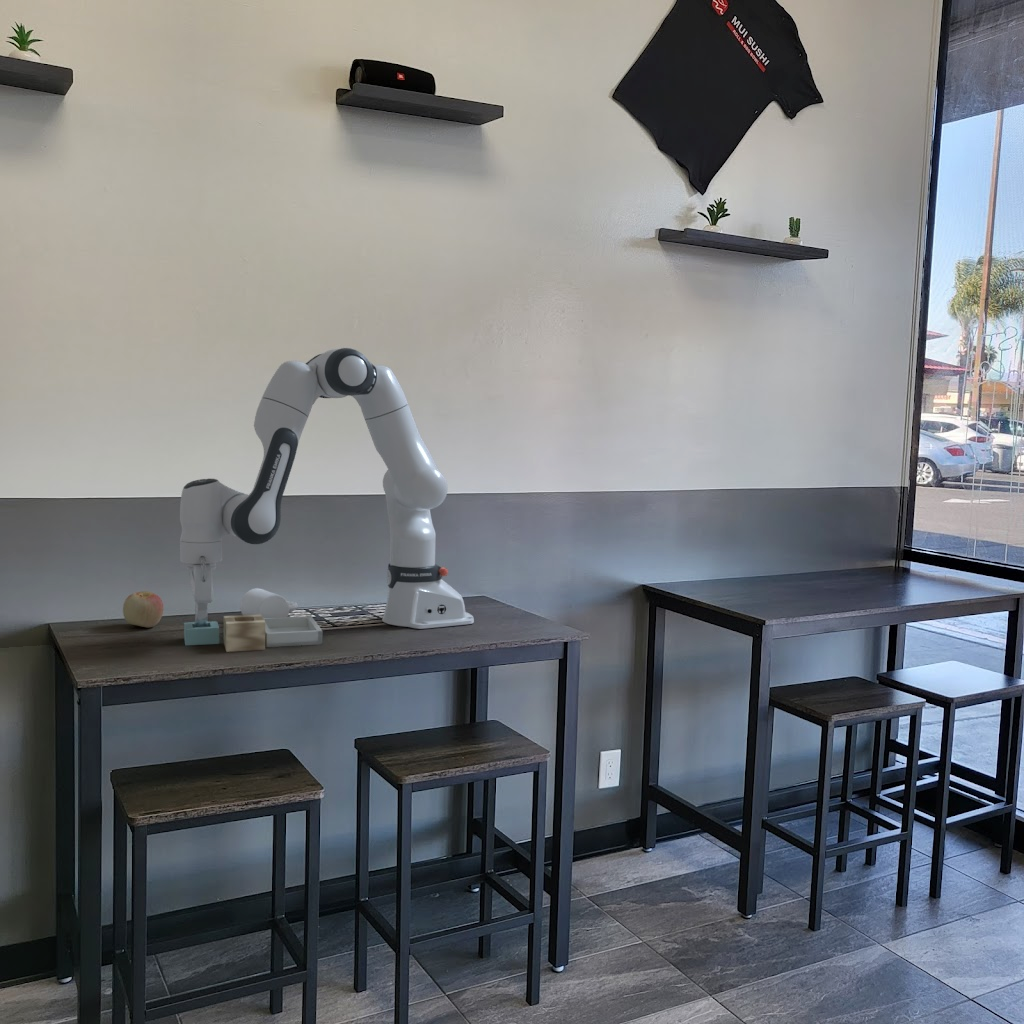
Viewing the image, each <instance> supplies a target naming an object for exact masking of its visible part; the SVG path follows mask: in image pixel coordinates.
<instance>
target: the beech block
mask: <svg viewBox="0 0 1024 1024" xmlns="http://www.w3.org/2000/svg"><path fill="white" fill-rule="evenodd" d="M223 645H224V648H225V651H226V652H227V653H228V652H229V653H231V652H244V651H245V652H247V651H265V650H266V645H265V620H264V619H263V617H262V615H243V614H242V615H241V614H240V615H223Z"/></svg>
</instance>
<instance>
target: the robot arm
mask: <svg viewBox="0 0 1024 1024" xmlns="http://www.w3.org/2000/svg"><path fill="white" fill-rule="evenodd" d="M348 396H349V397H352V398H353V399H355V401H356V403H357V404H358V405H359V407H360V410H361V413H362V416H363V418H364V421H365V424H366V427H367V429H368V432H369V434H370V438H371V439H372V442H373V445H374V448H375V450H376V452H377V453H378V454H379V456H380V457H381V459H382V460H383V462H384V464H385V466H386V468H387V470H386V471H385V473H384V475H383V478H382V488H383V492H384V494H385V501H386V509H387V517H388V524H389V537H390V539H389V541H390V542H389V544H390V545H389V563H388V565H387V566H388V567H387V575H386V578H387V580H386V581H387V583H386V584H387V586H388V591H387V598H386V605H385V608H384V613H383V616H382V619H381V621H382V622H383V623H385V624H388V625H392V626H397V627H406V628H407V627H408V628H412V629H416V630H417V629H420V630H422V629H432V628H433V629H434V628H443V627H453V626H463V625H471V624H474V622H475V619H474V616H473V615H472V614H471V613H469V612H467V611H466V606H465V601H464V599H463V596H462V595H461V593H459V592H458V591H457V590H456V589H455V588H453V587H452V586H451V585H450V584H449V583H447V582H446V581H445V580H443V577H447V576H448V575H449V570H448V569H447V568H446V567H444V566H442V567H441V566H439V565H438V564H436V536H437V535H436V530H435V528H434V524H433V520H432V515H431V510H433V509H436V508H437V507H439V506H440V505H441V504H443V502H444V501H445V500H446V498H447V495H448V483H447V480H446V478H445V476H444V475H443V474H442V473H441V472H440V470H439V468H438V466H437V464H436V462H435V460H434V458H433V456H432V455H431V452H430V451H429V449H428V447H427V446H426V443H425V442H424V440H423V439H422V436H421V434H420V431H419V430H418V426H417V424H416V421H415V419H414V416H413V413H412V409H411V408H410V404H409V403H408V400H407V397H406V395H405V392H404V390H403V388H402V386H401V384H400V383H399V380H398V378H397V377H396V375H395V374H394V372H393V370H392V369H391V368H390V367H388V366H386V365H382V364H375V365H374V364H373V363H372V362H371V361H369V359H368V358H367V357H366V356H365V355H364V354H363V353H362V352H360V351H358V350H356V349H353V348H349V347H342V348H334V349H330V350H327V351H325V352H323V353H321V354H317V355H315V356H314V357H312V358H311V359H310V360H308V361H307V362H306V363H305V362H302V361H297V360H287V361H284V362H283V363H281V364H280V366H278V368H277V369H276V370H275V373H274V374H273V375H272V376H271V379H270V380H269V382H268V384H267V386H266V388H265V390H264V392H263V394H262V396H261V400H260V401H259V404H258V407H257V409H256V412H255V416H254V422H253V427H254V431H255V434H256V435H257V437H258V438H259V440H260V442H261V444H262V448H263V458H262V462H261V465H260V467H259V470H258V474H257V476H256V479H255V482H254V485H253V488H252V490H251V492H250V493H248V494H247V493H244V492H241V491H238V490H235V489H233V488H231V487H228V486H226V485H225V484H223V483H222V482H220V481H219V480H218V479H217V478H201V479H197V480H192V481H190V482H188V483H186V484H185V485H184V486H183V488H182V491H181V496H180V505H179V507H180V508H179V522H180V525H181V534H180V538H179V551H180V552H179V561H180V563H182V564H185V565H186V566H185V567H186V568H185V569H186V570H187V571H188V575H189V582H190V586H191V590H192V595H193V599H194V603H195V602H196V603H197V607H198V618H206V616H207V603H208V604H211V603H212V602H213V600H214V589H213V588H214V581H213V578H214V577H213V571H215V570H216V569H217V564H218V563H221V562H222V561H223V537H224V536H225V535H231V536H233V537H235V538H238V539H240V540H242V541H243V542H245V543H247V544H250V545H262V544H263V543H267V542H269V541H270V540H271V539H272V538H274V536H275V535H276V534H277V533H278V531H279V528H280V525H281V517H282V513H281V508H282V507H281V506H282V499H283V496H284V492H285V489H286V486H287V484H288V481H289V477H290V474H291V471H292V468H293V465H294V462H295V459H296V454H297V450H298V447H299V442H300V439H301V436H302V435H303V431H304V428H305V426H306V424H307V421H308V419H309V416H310V413H311V411H312V407H313V405H315V403H316V401H317V399H318V398H323V399H341V398H342V399H343V398H346V397H348Z"/></svg>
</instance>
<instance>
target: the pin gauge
mask: <svg viewBox="0 0 1024 1024" xmlns="http://www.w3.org/2000/svg"><path fill="white" fill-rule="evenodd" d="M208 604H209V603H207V616H206V618H198V607H197V603H196V602H195V601H194V607H195V608H194V611H195V612H194V622H195V627H208V622H209V621H208V620H209V619H208V617H209V616H208V615H209V614H208V613H209V612H208V609H209V608H208V606H209V605H208Z"/></svg>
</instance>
